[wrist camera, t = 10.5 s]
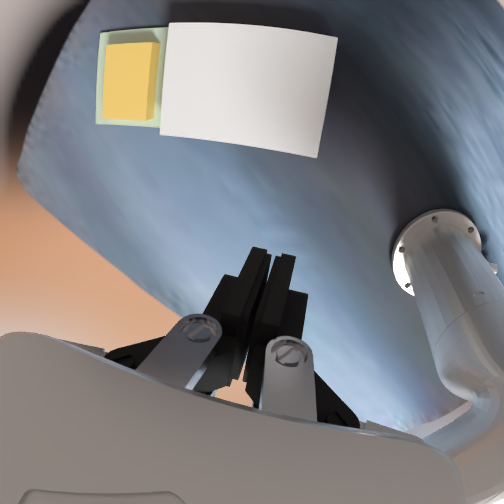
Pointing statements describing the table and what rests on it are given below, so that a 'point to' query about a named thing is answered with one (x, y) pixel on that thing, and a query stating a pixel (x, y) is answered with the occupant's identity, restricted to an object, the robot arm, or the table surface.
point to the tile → (130, 81)
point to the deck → (247, 85)
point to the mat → (158, 37)
